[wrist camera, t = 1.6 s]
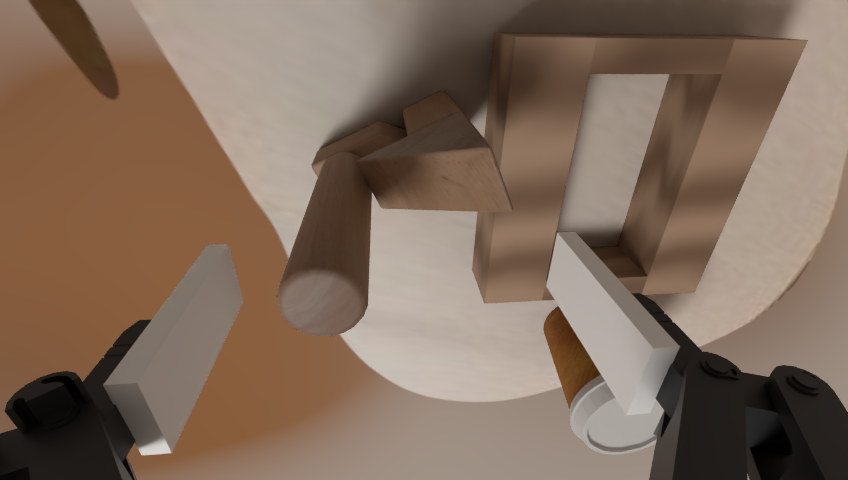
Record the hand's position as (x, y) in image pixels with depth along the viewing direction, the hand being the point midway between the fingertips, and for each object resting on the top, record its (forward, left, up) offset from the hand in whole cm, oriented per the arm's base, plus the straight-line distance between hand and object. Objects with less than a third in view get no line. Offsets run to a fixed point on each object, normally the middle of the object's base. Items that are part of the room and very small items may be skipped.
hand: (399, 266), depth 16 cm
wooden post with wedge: (0, 0, -17) cm, 17 cm away
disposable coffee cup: (+20, +19, -17) cm, 32 cm away
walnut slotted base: (+2, +17, -17) cm, 24 cm away
